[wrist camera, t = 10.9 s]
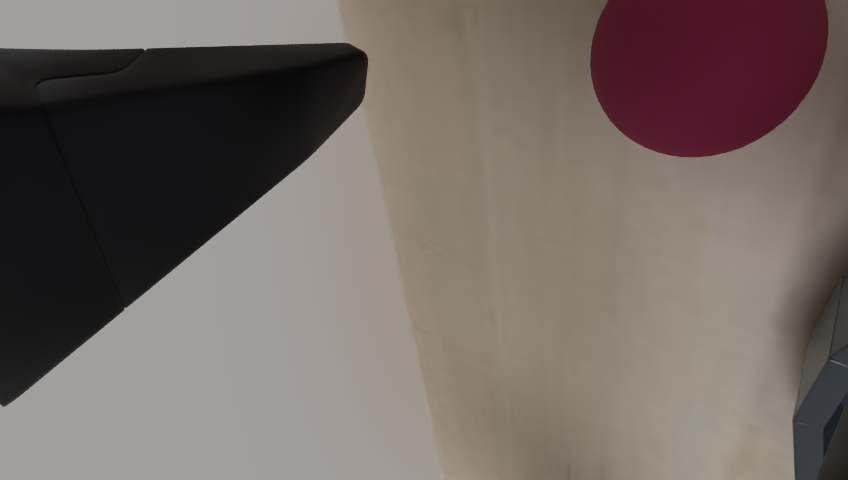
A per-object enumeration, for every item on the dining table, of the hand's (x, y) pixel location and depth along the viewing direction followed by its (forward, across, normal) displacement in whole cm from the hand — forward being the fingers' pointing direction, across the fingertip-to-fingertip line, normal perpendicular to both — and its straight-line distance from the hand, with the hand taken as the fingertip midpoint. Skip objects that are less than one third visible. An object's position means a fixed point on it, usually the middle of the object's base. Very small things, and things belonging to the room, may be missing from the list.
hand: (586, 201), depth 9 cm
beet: (+9, 0, 0) cm, 9 cm away
